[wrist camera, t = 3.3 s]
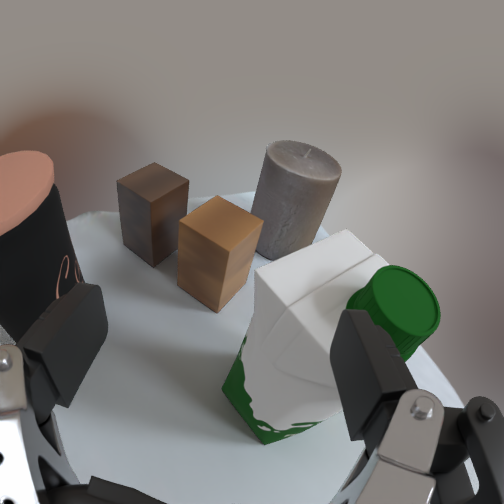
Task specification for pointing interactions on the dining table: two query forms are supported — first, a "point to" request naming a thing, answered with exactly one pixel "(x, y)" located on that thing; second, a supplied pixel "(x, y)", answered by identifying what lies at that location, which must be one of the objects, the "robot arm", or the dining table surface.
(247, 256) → the oak block
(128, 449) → the dining table surface
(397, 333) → the milk carton
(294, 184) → the pillar candle
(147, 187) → the walnut block
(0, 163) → the coffee jar
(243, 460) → the dining table surface
